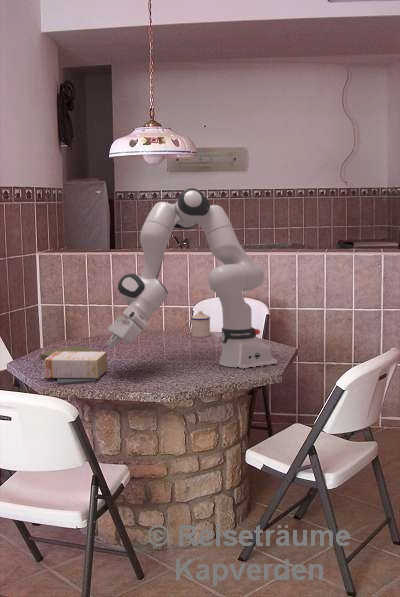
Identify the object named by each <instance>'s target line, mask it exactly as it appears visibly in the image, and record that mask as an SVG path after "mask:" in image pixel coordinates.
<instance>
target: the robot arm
mask: <svg viewBox="0 0 400 597" xmlns="http://www.w3.org/2000/svg"><path fill="white" fill-rule="evenodd" d="M197 225H198V226H200V227H201V229H202V230H203V232H204V236H205V239H206V241H207V243H208V246H209V249H210V251H211V254H212V255H213V257H214V258H216V259H218V260H219V261H220V262H222V265H219V266H216V267H215V268H212V270H210V272H209V275H208V285H209V287H210V288H211V290H212V291H213V292H214V293H215V294H216V295H217V297H218V299H219V301H220V305H221V310H222V327H221V342H222V345H221V353H220V359H219V362H218V364H219V365H221V366H223V367H227V368H228V367H229V368H237V367H239V368H238V369H244V368H245V369H250V368H249V367H253V368H257V367H256V366H261V367H264V366H263V365H269V366H271V365H270V364H276V365H278V359H276V358H275V357H273V356H272V350H271V349H270V347H269V344H268V345H267V344H266V343H265V342H263V341H262V340H261V339H260V338H259V337H257V335H258V336H259V335H260V333H261V330H260V329H259V328H254V327H252V326H253V325H252V323H253V322H252V307H251V306H250V304H248V303H247V302H246V301H245V298H244V295H243V292H245V291H246V292H247V291H248V292H249V291H252V290H255V289H257V288H258V287H260V286H261V285H262V284H263V282H264V280H265V273H264V272H265V271H264V269H263V267H262V266H261V265H260V264H258V263H257V262H255V261H254V260H253V259H252V258H251V257H250V256H249V255H248V254H247V252H246V251H245V250H244V248H243V247H242V246H241V244H240V242H239V240H238V238H237V235H236V233H235V230H234V227H233V225H232V222H231V221H230V219H229V217H228V215H227V213H226V211H225V210H224V208H223V207H222V206H220V205H217V204H211V202H210V200H209V199H208V198H207V197H206V196H205V194H204V193H203V192H202V191H200V190H198V189H197V188H194V187H189V188H186V189H185V190H183V191H181V193H180V194H179V195H178V197H177V200H176V202H175V203H170V202H167V201H159V202H156V203H155V204H154V205H153V206H152V208H151V210H150V211H149V213H148V214H147V217H146V218H145V221H144V223H143V225H142V228H141V231H140V235H139V243H140V245H141V246H140V247H141V248H142V252H143V257H144V258H143V259H144V266H143V269H142V272H141V275H138V274H135V273H128V274H125V275H123V276H122V277H121V278H120V280H119V281H118V284H117V290H118V293H119V294H120V295H121V297H122V298H123V299H124V301H125V302H126V303H127V305H128V306H127V307H126V308H125V309H124V310H123V312H122V315H120V316H117V318H116V319H115V320H114V321H113V322H112V323H111V324H110V325H109V327H108V328H107V330H108V332H109V333H110V334H112V335H111V336H110V338H109V340H107V342H106V345H107V346H108V347H109V348H111V349H113V348H114V347H115V345H118V343H120V342H121V341H122V342H124V343H126V344H130V343H132V342H133V341H134V340H135V339H136V338H137V337H138V336H139V335H140V334H141V333H142V331H144V330H146V329H147V327H148V321H149V320H150V319H151V317H152V315H153V314H154V313H155V312H157V311H158V310H159V309H160V308H161V306H162V304H164V302H165V301H166V299H167V297H168V296H169V292H168V290H167V288H166V286H165V285H164V284H163V283H162V282H161V281H160V280H159V278H158V277H159V275H160V272H161V268H162V265H163V261H164V260H163V259H164V257H165V253H166V249H167V247H168V243H169V240H170V239H171V236H172V233H173V231H174V229H175V228H176V229H180V230H186V231H187V230H191V229H193V228H194V227H196V226H197Z"/></svg>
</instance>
